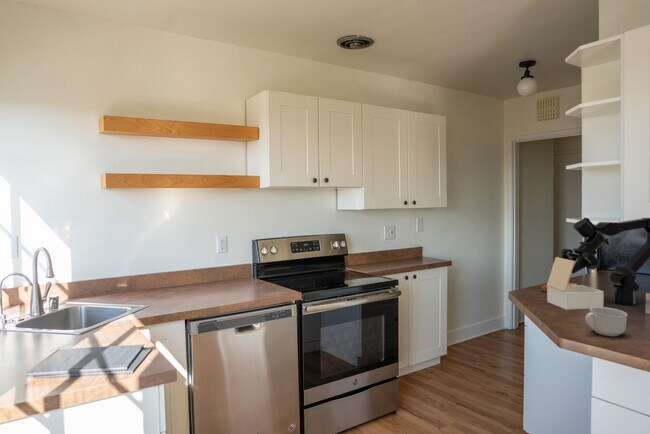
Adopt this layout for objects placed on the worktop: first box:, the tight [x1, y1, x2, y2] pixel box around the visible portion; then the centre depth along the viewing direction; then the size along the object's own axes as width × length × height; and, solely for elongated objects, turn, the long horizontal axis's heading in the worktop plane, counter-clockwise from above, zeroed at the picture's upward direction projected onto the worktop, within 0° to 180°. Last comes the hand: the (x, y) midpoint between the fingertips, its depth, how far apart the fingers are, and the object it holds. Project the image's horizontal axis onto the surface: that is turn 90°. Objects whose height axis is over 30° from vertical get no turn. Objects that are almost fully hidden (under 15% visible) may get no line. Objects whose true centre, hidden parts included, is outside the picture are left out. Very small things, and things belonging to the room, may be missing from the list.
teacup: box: [584, 306, 628, 337], centre depth 152 cm, size 14×11×8 cm
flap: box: [547, 256, 576, 291], centre depth 192 cm, size 13×13×1 cm
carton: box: [546, 284, 604, 311], centre depth 193 cm, size 16×15×7 cm
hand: (565, 271), depth 192 cm, fingers open, 9 cm apart
